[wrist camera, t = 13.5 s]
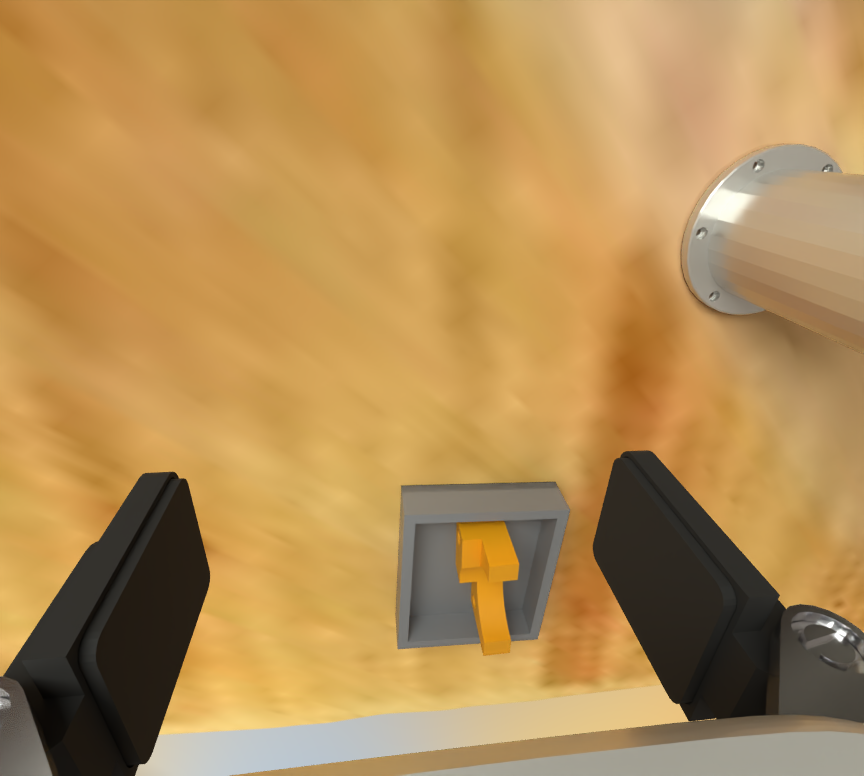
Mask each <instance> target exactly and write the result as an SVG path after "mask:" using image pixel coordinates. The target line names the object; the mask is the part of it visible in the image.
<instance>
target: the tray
mask: <svg viewBox="0 0 864 776" xmlns="http://www.w3.org/2000/svg"><path fill="white" fill-rule="evenodd" d="M569 512H570V509H569V507H568V505H567V503H566V501H565V499H564V497H563V496H562V494H561V492H560V490H559V488H558V486H557V484H556V483H555V482H529V483H489V484H450V485H410V486H401V506H400V528H399V550H398V573H397V595H396V630H397V646H398V649H406V648H420V647H434V646H449V645H463V644H477V643H480V638H479V634H478V629H477V625H476V620H475V616H474V611H473V607H472V602H471V584H472V582H468V583H459V578H458V573H457V569H456V523H457V522H479V521H504V522H505V525H506V528H507V530H508V533H509V536H510V539H511V542H512V545H513V547H514V550H515V553H516V556H517V559H518V562H519V572H518V580H511V581H503V597H504V607H505V614H506V620H507V625H508V630H509V634H510V638H511V641H520V640H534V639H538V636H539V632H540V628H541V624H542V620H543V616H544V612H545V608H546V604H547V600H548V596H549V592H550V588H551V584H552V580H553V576H554V572H555V568H556V564H557V560H558V556H559V552H560V548H561V544H562V540H563V536H564V532H565V528H566V524H567V520H568V516H569Z"/></svg>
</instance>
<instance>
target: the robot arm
mask: <svg viewBox="0 0 864 776" xmlns="http://www.w3.org/2000/svg"><path fill="white" fill-rule="evenodd" d="M681 256H682V269H683V273H684V278H685V280H686V282H687V284H688V286H689V288H690V290H691V292H692V293H693V294H694V295H695V296H696V297H697V299H698V300H700V301H701V302H703V303H704V304H706V305H707V306H709V307H711V308H713V309H715V310H717V311H719V312H723V313H727V314H731V315H748V314H754V313H759V312H762V311H765V310H767V311H770V312H772V313H774V314H776V315H778V316H781V317H783V318H785V319H787V320H789V321H792V322H794V323H796V324H798V325H800V326H803V327H805V328H807V329H809V330H811V331H814V332H816V333H818V334H820V335H822V336H825V337H827V338H829V339H831V340H833V341H836V342H838V343H840V344H842V345H844V346H847V347H849V348H851V349H853V350H855V351H858V352H860V353H862V354H864V175H858V174H847V173H843V172H842V170H841V169H840V167H839V165H838V163H837V162H836V161H835V160H834V159H833V158H832V157H831V156H830V155H829V154H827V153H825V152H824V151H822V150H820V149H818V148H816V147H812V146H807V145H802V144H781V145H774V146H768V147H765V148H763V149H760V150H757V151H754V152H752V153H750V154H748V155H747V156H745V157H743V158H741V159H740V160H738V161H736V162H735V163H734V164H732V165H731V166H730V167H729V168H727V169H726V170H725V171H724V172H722V173H721V174H720V175H719V176H718V177H717V179H716V180H715V181H714V182H713V183H712V184H711V185H710V186H709V187H708V188H707V190H706V191H705V193H704V194H703V196H702V197H701V198H700V200H699V201H698V203H697V205H696V207H695V209H694V211H693V213H692V214H691V216H690V218H689V221H688V224H687V227H686V230H685V233H684V238H683V244H682V250H681ZM593 553H594V557H595V559H596V562H597V564H598V565H599V567H600V569H601V571H602V573H603V575H604V577H605V579H606V580H607V582H608V584H609V586H610V588H611V590H612V592H613V593H614V595H615V597H616V599H617V601H618V603H619V605H620V607H621V608H622V610H623V612H624V614H625V616H626V618H627V620H628V622H629V623H630V625H631V627H632V629H633V631H634V633H635V635H636V637H637V638H638V640H639V642H640V644H641V646H642V648H643V650H644V651H645V653H646V655H647V657H648V659H649V661H650V663H651V665H652V666H653V668H654V670H655V672H656V674H657V676H658V678H659V680H660V681H661V683H662V685H663V687H664V689H665V691H666V693H667V694H668V696H669V698H670V699H671V700H672V701H673V702H674V703H676V704H680V706H681V708H682V710H683V711H684V713H685V715H686V717H687V719H688V721H693V722H682V723H672V724H663V725H654V726H645V727H636V728H627V729H619V730H609V731H601V732H591V733H582V734H573V735H565V736H555V737H547V738H538V739H530V740H521V741H512V742H504V743H496V744H487V745H478V746H470V747H461V748H453V749H445V750H436V751H427V752H419V753H410V754H403V755H395V756H385V757H377V758H369V759H361V760H352V761H344V762H336V763H328V764H321V765H312V766H304V767H296V768H288V769H279V770H271V771H263V772H255V773H248V774H240V775H232V776H864V633H863V632H862V631H861V630H860V629H859V628H858V627H856V626H855V625H853V624H852V623H850V622H849V621H847V620H846V619H844V618H843V617H841V616H839V615H837V614H835V613H833V612H831V611H828V610H825V609H822V608H819V607H816V606H811V605H802V604H799V605H794V606H790V607H788V608H787V609H786V608H785V607H784V606H783V605H782V604H781V602H780V601H779V600H778V598H779V596H780V595H779V594H778V593H777V591H776V590H775V589H774V588H773V587H772V586H771V585H770V584H769V582H768V581H767V580H766V579H765V578H764V577H763V576H762V575H761V573H760V572H759V571H758V570H757V569H756V568H755V567H754V566H753V564H752V563H751V562H750V561H749V560H748V559H747V558H746V557H745V555H744V554H743V553H742V552H741V551H740V550H739V549H738V548H737V546H736V545H735V544H734V543H733V542H732V541H731V540H730V539H729V537H728V536H727V535H726V534H725V533H724V532H723V531H722V530H721V528H720V527H719V526H718V525H717V524H716V523H715V522H714V521H713V519H712V518H711V517H710V516H709V515H708V514H707V513H706V512H705V510H704V509H703V508H702V507H701V506H700V505H699V504H698V503H697V501H696V500H695V499H694V498H693V497H692V496H691V495H690V494H689V492H688V491H687V490H686V489H685V488H684V487H683V486H682V485H681V483H680V482H679V481H678V480H677V479H676V478H675V477H674V476H673V474H672V473H671V472H670V471H669V470H668V469H667V468H666V467H665V465H664V464H663V463H662V462H661V461H660V460H659V459H658V458H657V456H656V455H655V454H654V453H653V452H651V451H626V452H623V454H622V455H621V457H620V458H617V459H616V460H615V461H614V463H613V467H612V471H611V475H610V479H609V483H608V487H607V491H606V495H605V499H604V503H603V507H602V511H601V515H600V519H599V523H598V527H597V531H596V535H595V539H594V542H593ZM209 582H210V570H209V566H208V562H207V558H206V554H205V550H204V546H203V542H202V538H201V534H200V530H199V526H198V522H197V518H196V514H195V510H194V506H193V502H192V498H191V494H190V490H189V486H188V483H187V480H186V479H184V478H183V479H179V478H178V475H177V474H176V473H175V472H159V473H145V474H142V476H141V477H140V478H139V479H138V481H137V483H136V484H135V486H134V487H133V489H132V490H131V492H130V493H129V495H128V496H127V498H126V500H125V501H124V503H123V504H122V506H121V507H120V509H119V510H118V512H117V514H116V515H115V517H114V518H113V520H112V521H111V523H110V524H109V526H108V527H107V529H106V531H105V532H104V534H103V535H102V537H101V538H100V540H99V541H98V542H95V543H94V544H92V545H91V546H90V547H89V548H88V549H87V550H86V551H85V553H84V554H83V556H82V557H81V559H80V560H79V562H78V564H77V565H76V567H75V568H74V570H73V571H72V573H71V574H70V576H69V577H68V579H67V580H66V582H65V583H64V585H63V586H62V588H61V589H60V591H59V592H58V594H57V595H56V597H55V598H54V600H53V601H52V603H51V604H50V606H49V607H48V609H47V610H46V612H45V613H44V615H43V616H42V618H41V619H40V621H39V623H38V624H37V626H36V627H35V629H34V630H33V632H32V633H31V635H30V636H29V638H28V639H27V641H26V642H25V644H24V645H23V647H22V648H21V650H20V651H19V653H18V654H17V656H16V657H15V659H14V660H13V662H12V663H11V665H10V666H9V668H8V669H7V671H6V672H5V674H4V675H3V676H2V677H0V776H135V774H136V771H137V768H138V765H139V764H145V763H147V761H148V760H149V759H150V757H151V754H152V752H153V749H154V746H155V743H156V740H157V737H158V735H159V732H160V729H161V726H162V723H163V720H164V717H165V714H166V711H167V708H168V705H169V702H170V699H171V696H172V694H173V691H174V688H175V685H176V682H177V679H178V676H179V673H180V670H181V667H182V664H183V661H184V658H185V655H186V652H187V649H188V647H189V644H190V641H191V638H192V635H193V632H194V629H195V626H196V623H197V620H198V617H199V614H200V611H201V608H202V605H203V603H204V600H205V597H206V594H207V591H208V587H209ZM715 717H716V719H715V720H705V719H714V718H715ZM696 720H704V721H696Z"/></svg>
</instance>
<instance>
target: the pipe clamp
mask: <svg viewBox="0 0 864 776" xmlns="http://www.w3.org/2000/svg"><path fill="white" fill-rule="evenodd" d="M456 569H457V573H458V578H459V583H468V582H472V584H471V602H472V607H473V611H474V616H475V620H476V625H477V629H478V634H479V638H480V643H481V647H482V652H483V656H486V655H494V654H502V653H510V645H511V638H510V634H509V630H508V625H507V620H506V614H505V607H504V597H503V581H511V580H518V572H519V562H518V559H517V556H516V553H515V550H514V547H513V545H512V542H511V539H510V536H509V533H508V530H507V528H506V525H505V522H504V521H479V522H457V523H456Z"/></svg>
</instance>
